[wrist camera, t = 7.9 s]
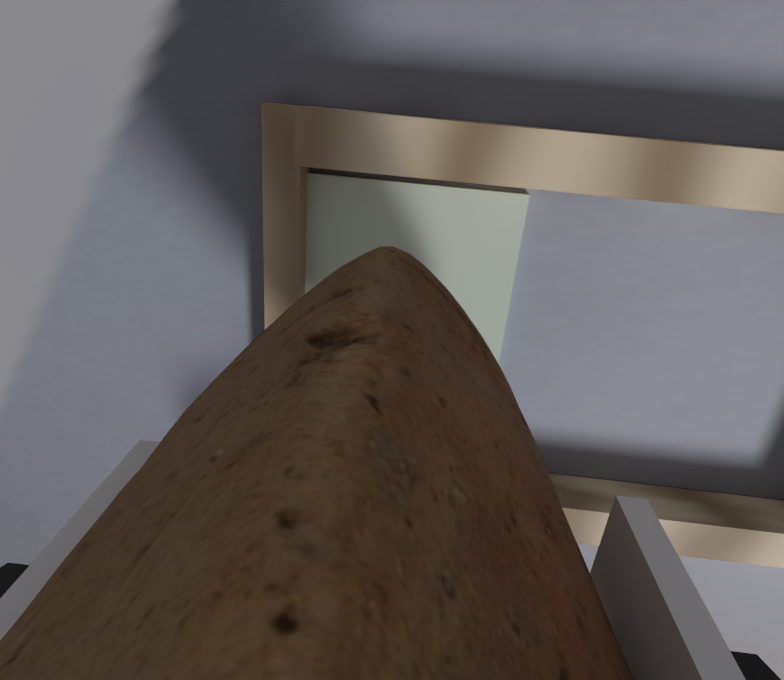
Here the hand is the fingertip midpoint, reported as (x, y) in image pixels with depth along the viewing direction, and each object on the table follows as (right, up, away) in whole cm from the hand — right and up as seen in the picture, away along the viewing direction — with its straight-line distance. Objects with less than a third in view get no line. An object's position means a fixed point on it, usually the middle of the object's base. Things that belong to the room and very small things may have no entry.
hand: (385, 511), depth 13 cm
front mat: (+1, +5, +11) cm, 12 cm away
